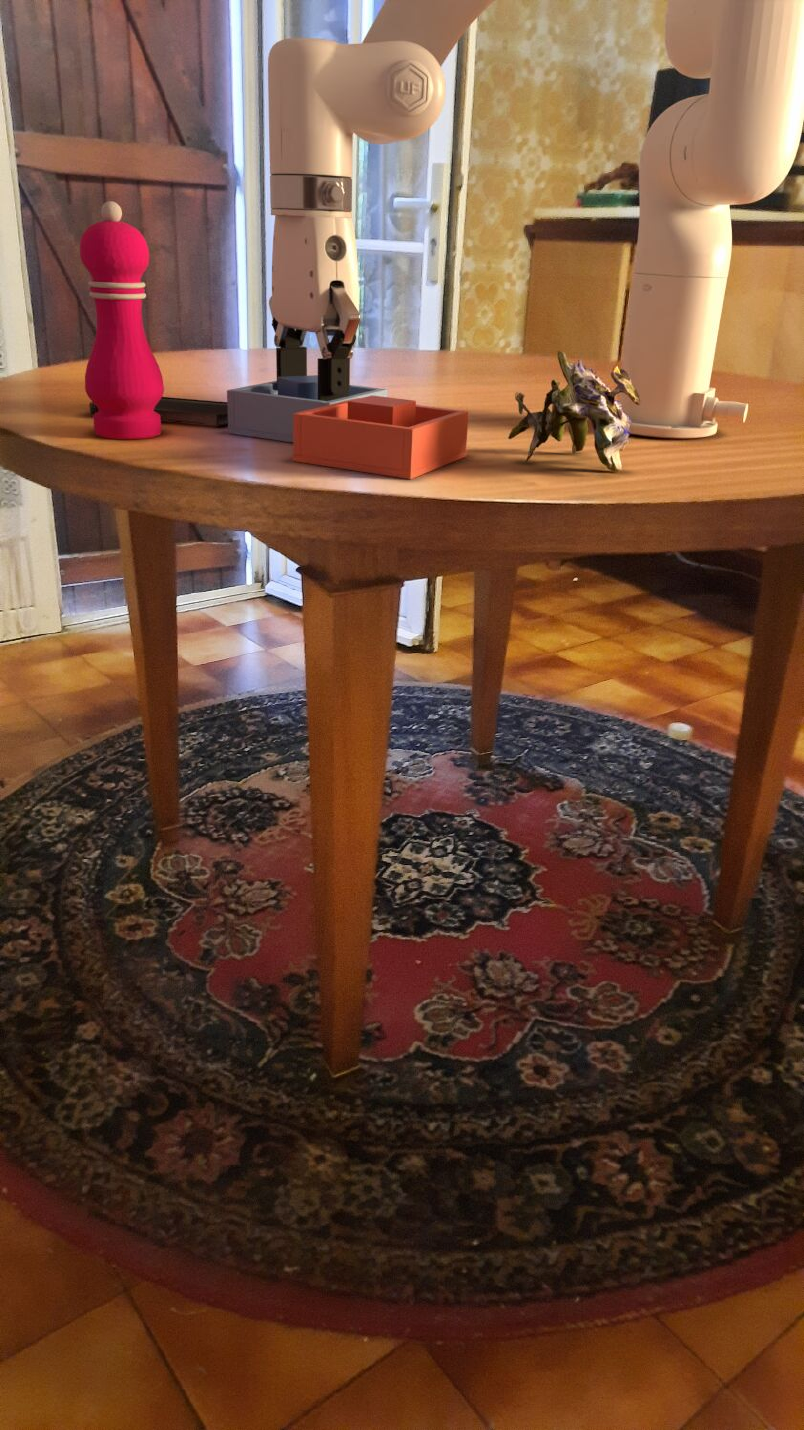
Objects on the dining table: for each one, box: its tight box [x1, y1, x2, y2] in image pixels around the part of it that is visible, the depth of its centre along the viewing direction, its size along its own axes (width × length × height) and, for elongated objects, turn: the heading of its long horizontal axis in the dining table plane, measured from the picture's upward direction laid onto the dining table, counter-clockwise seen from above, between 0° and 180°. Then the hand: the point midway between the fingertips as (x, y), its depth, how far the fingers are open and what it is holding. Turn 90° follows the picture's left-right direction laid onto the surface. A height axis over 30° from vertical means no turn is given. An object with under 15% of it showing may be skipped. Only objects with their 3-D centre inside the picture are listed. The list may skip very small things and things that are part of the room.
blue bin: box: [226, 380, 389, 444], centre depth 102 cm, size 12×12×4 cm
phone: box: [89, 396, 228, 427], centre depth 107 cm, size 8×1×15 cm
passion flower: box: [507, 350, 641, 473], centre depth 92 cm, size 11×11×12 cm
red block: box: [348, 395, 417, 427], centre depth 91 cm, size 4×4×4 cm
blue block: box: [278, 374, 318, 400], centre depth 101 cm, size 4×4×4 cm
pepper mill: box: [79, 200, 165, 440], centre depth 94 cm, size 7×7×20 cm
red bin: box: [292, 398, 470, 480], centre depth 91 cm, size 12×12×4 cm
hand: (312, 394), depth 102 cm, fingers open, 8 cm apart
